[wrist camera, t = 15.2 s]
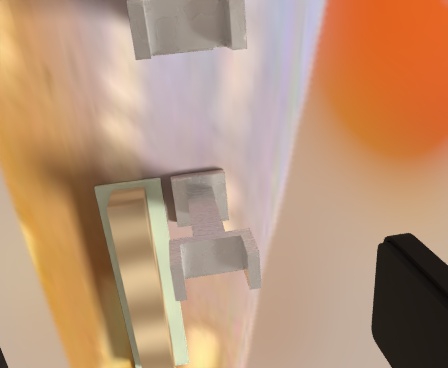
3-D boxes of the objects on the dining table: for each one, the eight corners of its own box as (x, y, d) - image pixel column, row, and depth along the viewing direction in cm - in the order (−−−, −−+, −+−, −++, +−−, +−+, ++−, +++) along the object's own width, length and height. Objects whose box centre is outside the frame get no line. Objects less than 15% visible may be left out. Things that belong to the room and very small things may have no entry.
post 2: (165, 176, 38) (167, 252, 26) (228, 168, 39) (258, 238, 27) (172, 223, 40) (177, 312, 28) (232, 214, 41) (261, 299, 29)
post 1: (136, -12, 32) (121, -25, 20) (212, -18, 33) (242, -35, 21) (146, 55, 34) (138, 79, 22) (217, 47, 35) (248, 67, 23)
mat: (95, 185, 38) (94, 188, 37) (160, 177, 38) (160, 179, 38) (137, 368, 47) (136, 372, 46) (189, 359, 48) (189, 363, 47)
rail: (111, 190, 38) (106, 209, 34) (144, 186, 38) (142, 204, 34) (149, 366, 46) (148, 396, 43) (175, 361, 47) (176, 391, 43)
